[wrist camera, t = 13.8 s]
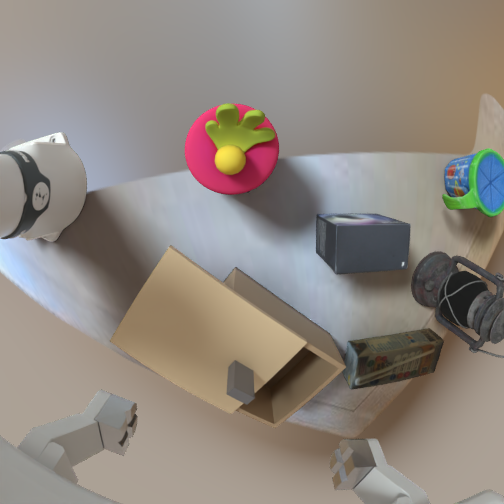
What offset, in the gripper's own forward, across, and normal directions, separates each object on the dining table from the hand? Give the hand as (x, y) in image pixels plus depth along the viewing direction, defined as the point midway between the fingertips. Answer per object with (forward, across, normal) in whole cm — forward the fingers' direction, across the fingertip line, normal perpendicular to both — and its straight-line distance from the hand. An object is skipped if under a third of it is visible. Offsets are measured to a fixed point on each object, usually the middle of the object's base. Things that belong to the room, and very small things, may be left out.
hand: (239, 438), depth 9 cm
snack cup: (+37, -33, -20) cm, 53 cm away
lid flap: (+24, +4, +12) cm, 27 cm away
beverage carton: (+37, -30, +15) cm, 50 cm away
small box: (+36, -13, -5) cm, 39 cm away
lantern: (+37, -34, -1) cm, 50 cm away
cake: (+35, +6, -12) cm, 37 cm away
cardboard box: (+35, -3, +16) cm, 39 cm away
